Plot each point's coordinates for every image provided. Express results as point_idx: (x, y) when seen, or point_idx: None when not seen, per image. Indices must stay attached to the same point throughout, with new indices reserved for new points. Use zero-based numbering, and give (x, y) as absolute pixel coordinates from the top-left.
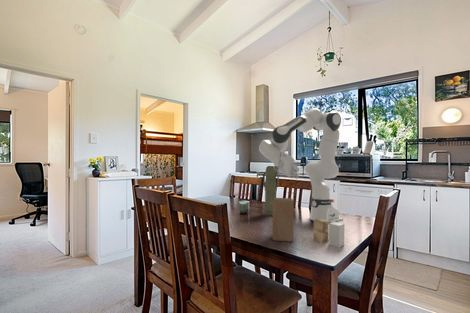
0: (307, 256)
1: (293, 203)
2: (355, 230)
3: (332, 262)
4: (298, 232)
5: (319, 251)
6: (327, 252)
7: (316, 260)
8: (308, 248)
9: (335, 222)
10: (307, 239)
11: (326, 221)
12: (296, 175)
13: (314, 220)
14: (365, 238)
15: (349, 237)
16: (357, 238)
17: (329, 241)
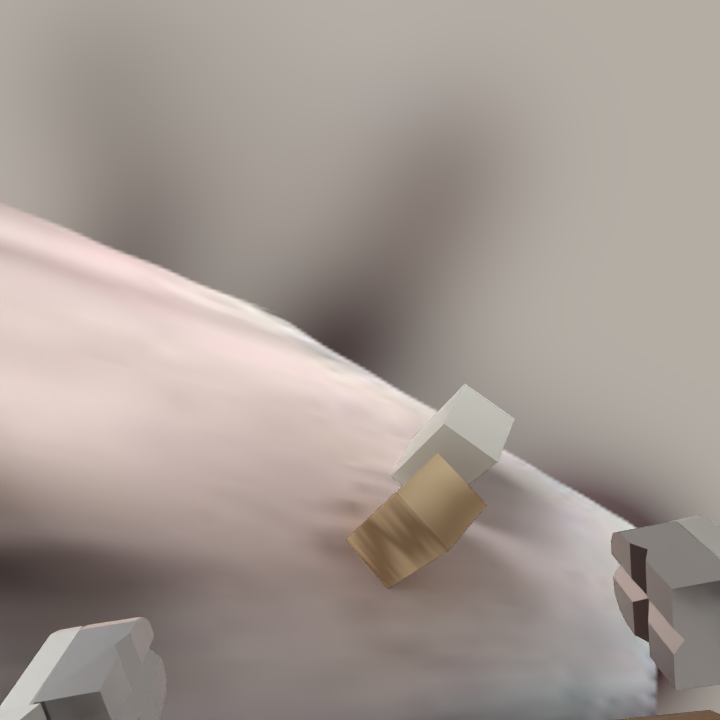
0: None
1: (707, 710)
2: (115, 304)
3: None
4: (256, 709)
5: (550, 570)
6: (542, 534)
7: None
8: (542, 625)
9: (456, 421)
10: (402, 629)
11: (450, 468)
12: (126, 693)
13: (451, 546)
14: (273, 315)
15: (278, 380)
16: (284, 349)
17: None
